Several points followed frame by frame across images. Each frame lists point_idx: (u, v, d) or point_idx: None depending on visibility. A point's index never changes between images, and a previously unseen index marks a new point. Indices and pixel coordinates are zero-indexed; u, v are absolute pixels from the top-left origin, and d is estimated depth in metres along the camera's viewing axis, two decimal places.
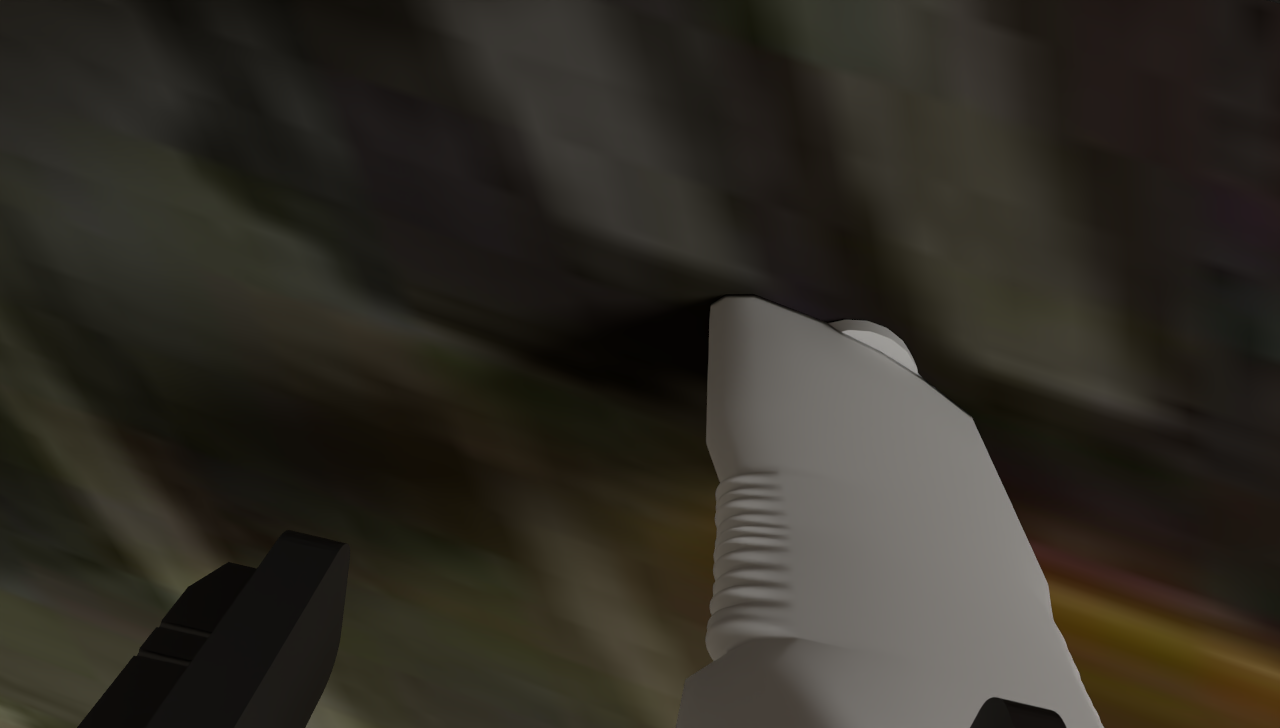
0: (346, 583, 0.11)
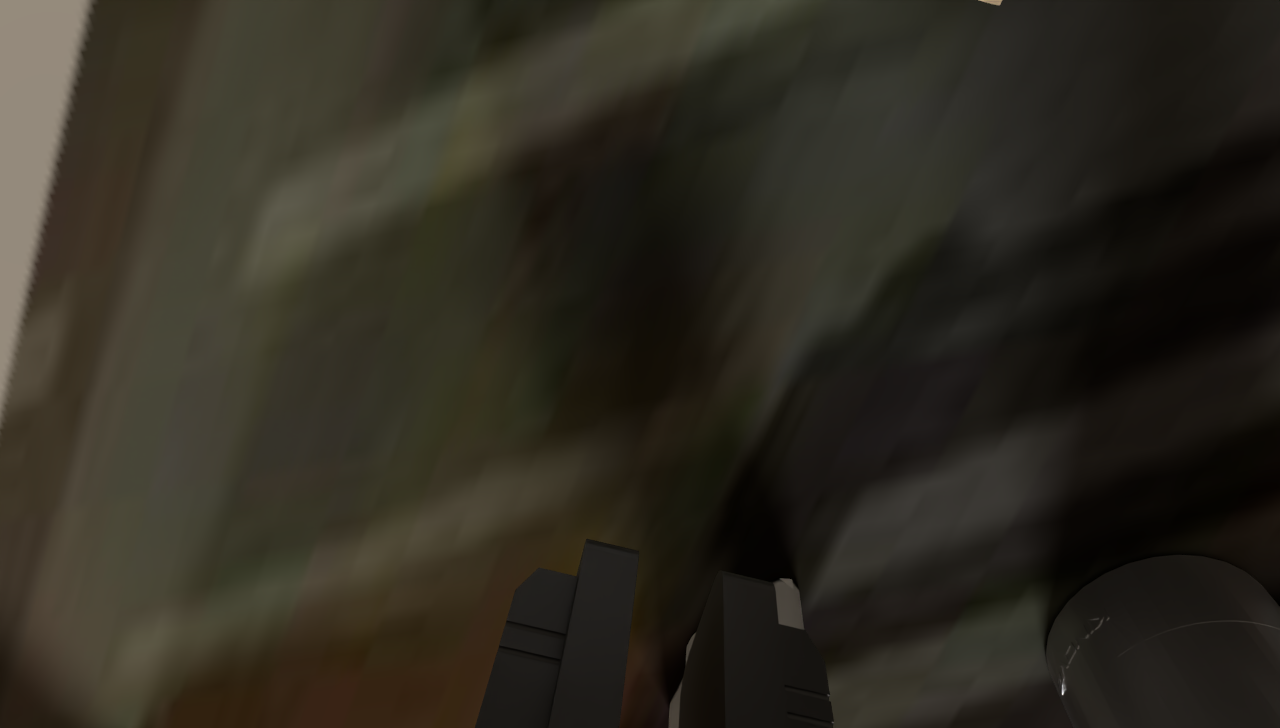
0: None
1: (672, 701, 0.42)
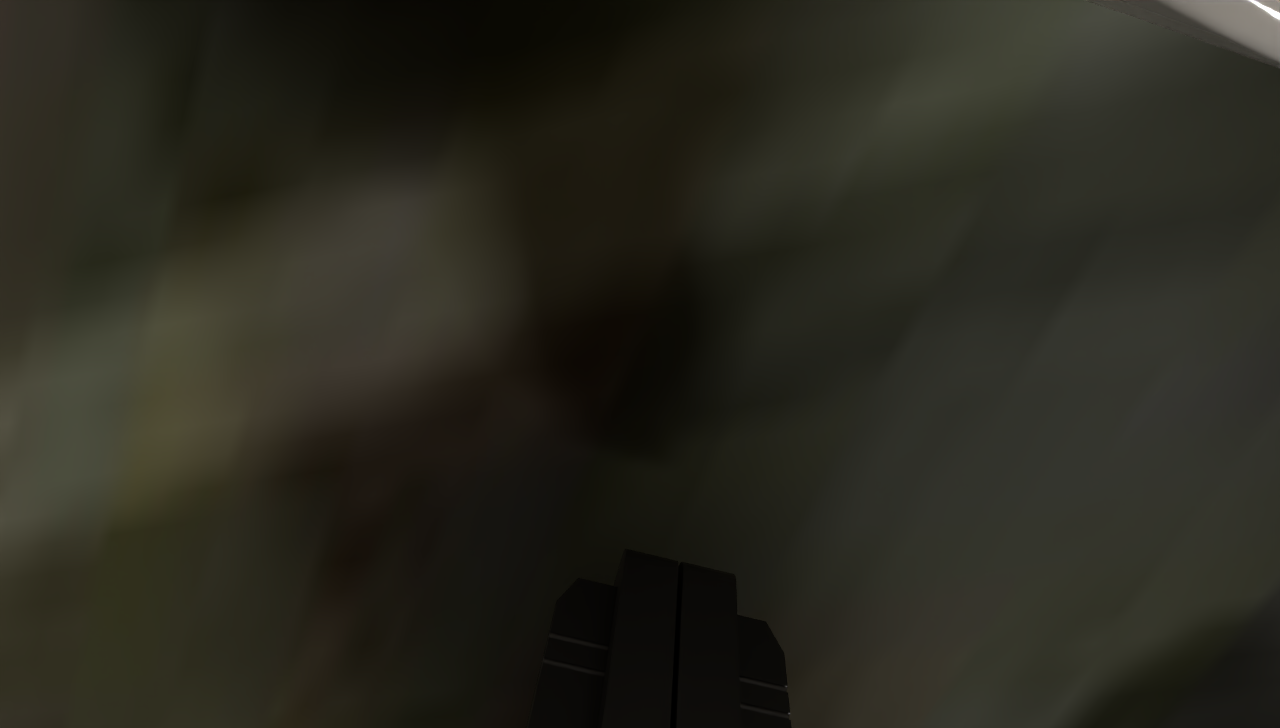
0: None
1: None
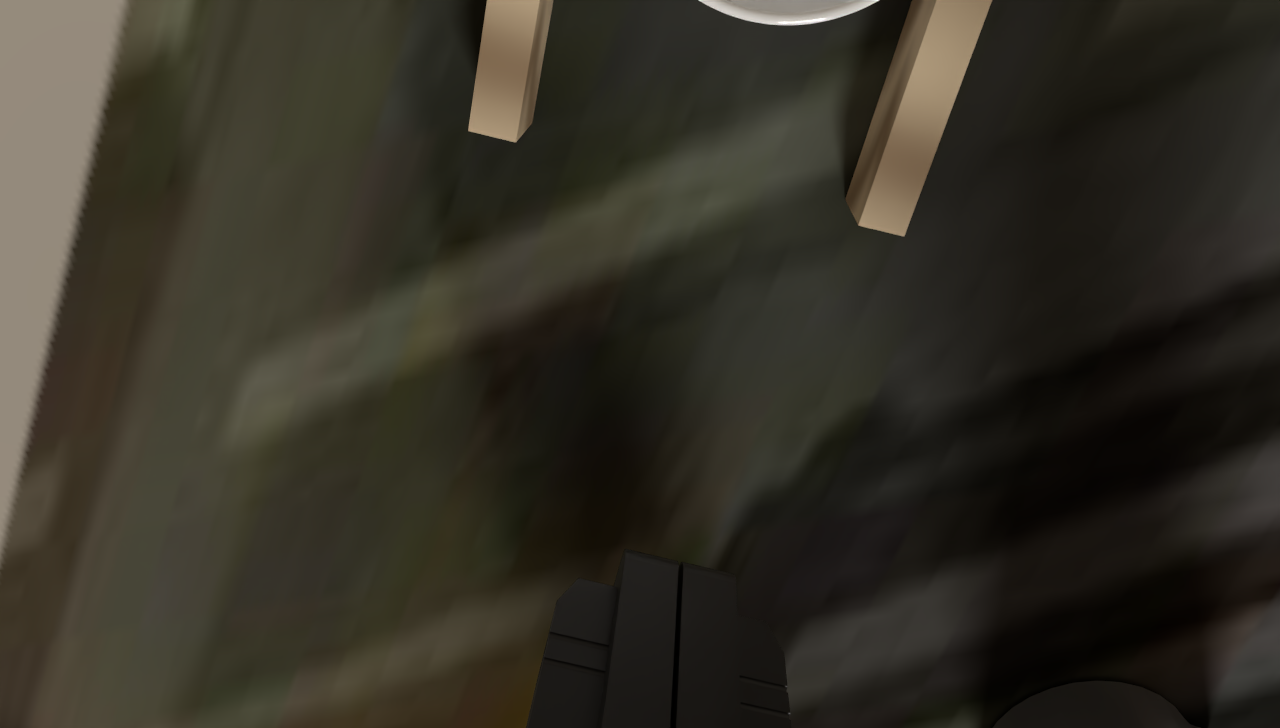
0: None
1: None
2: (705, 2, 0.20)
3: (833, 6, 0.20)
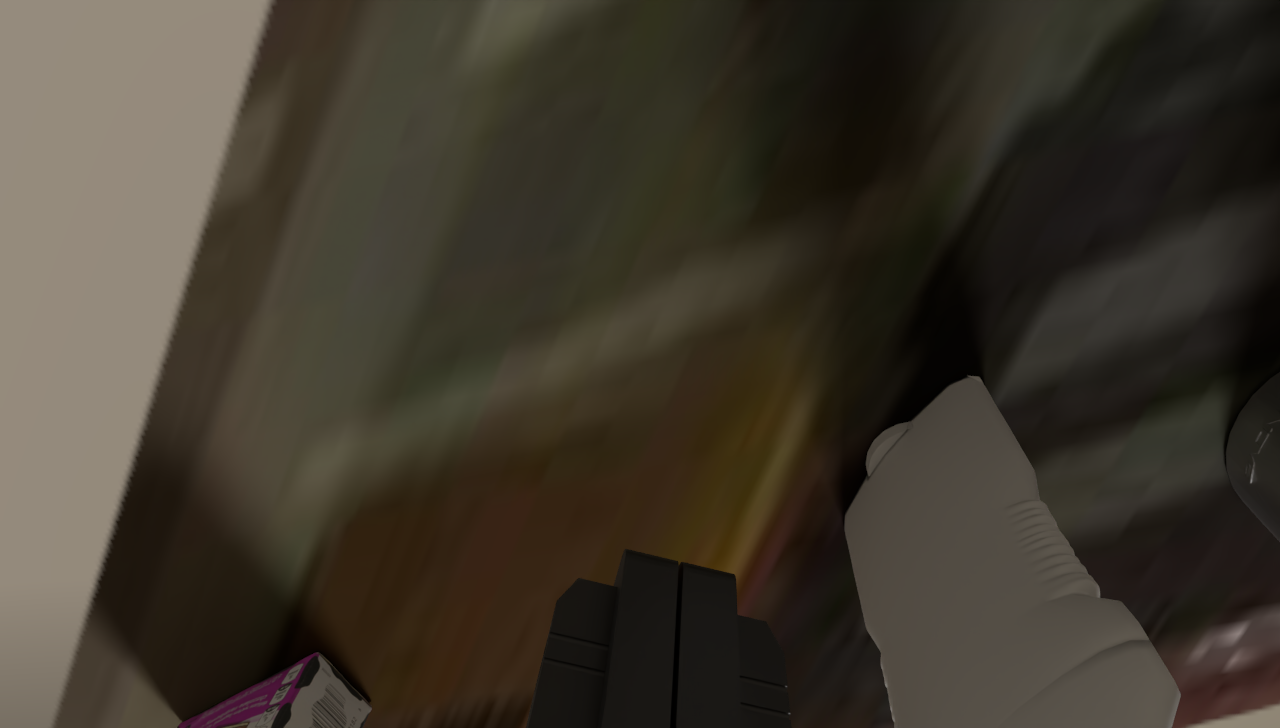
0: None
1: (848, 511, 0.43)
2: None
3: None
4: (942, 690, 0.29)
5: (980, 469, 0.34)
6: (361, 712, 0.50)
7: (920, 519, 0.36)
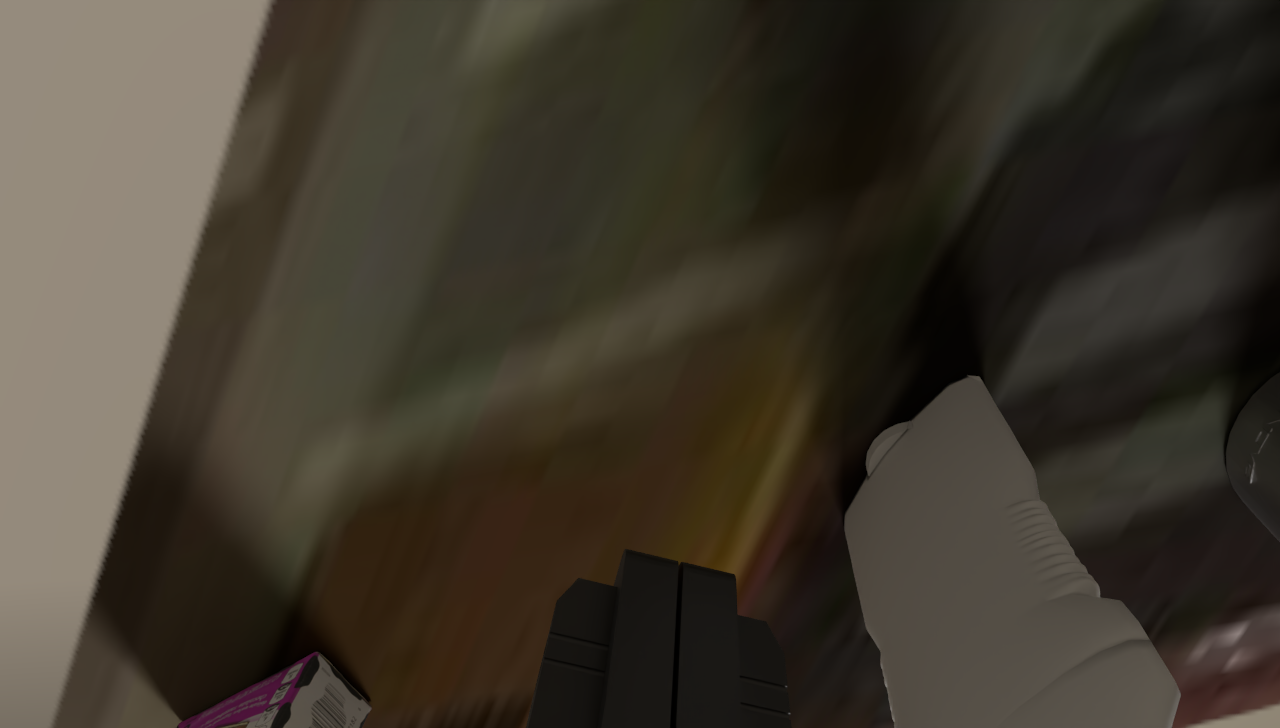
0: None
1: (848, 510, 0.43)
2: None
3: None
4: (942, 690, 0.29)
5: (979, 468, 0.34)
6: (361, 712, 0.50)
7: (920, 518, 0.36)
